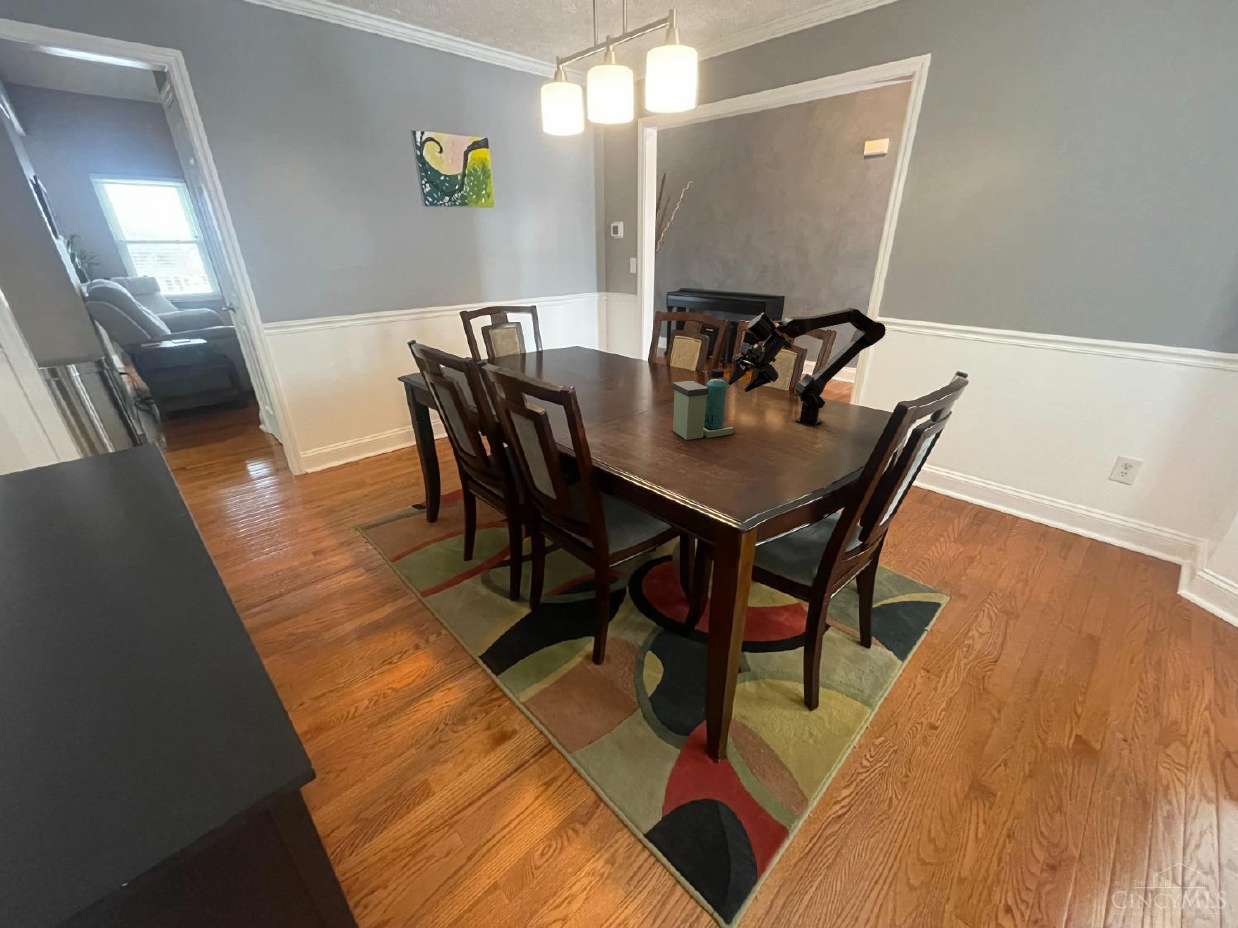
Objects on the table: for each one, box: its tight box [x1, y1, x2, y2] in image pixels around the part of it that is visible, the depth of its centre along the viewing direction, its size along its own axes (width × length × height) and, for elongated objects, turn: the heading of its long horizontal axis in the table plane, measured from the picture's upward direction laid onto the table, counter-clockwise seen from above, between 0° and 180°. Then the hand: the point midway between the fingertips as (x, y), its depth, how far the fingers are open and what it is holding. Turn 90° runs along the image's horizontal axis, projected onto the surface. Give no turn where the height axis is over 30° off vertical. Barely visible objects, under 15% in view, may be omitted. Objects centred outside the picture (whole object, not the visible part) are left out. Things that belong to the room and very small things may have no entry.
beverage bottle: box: [704, 368, 728, 430], centre depth 156 cm, size 6×7×20 cm
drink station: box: [672, 380, 735, 441], centre depth 156 cm, size 17×11×16 cm, turn 112°
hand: (736, 387), depth 158 cm, fingers open, 9 cm apart
